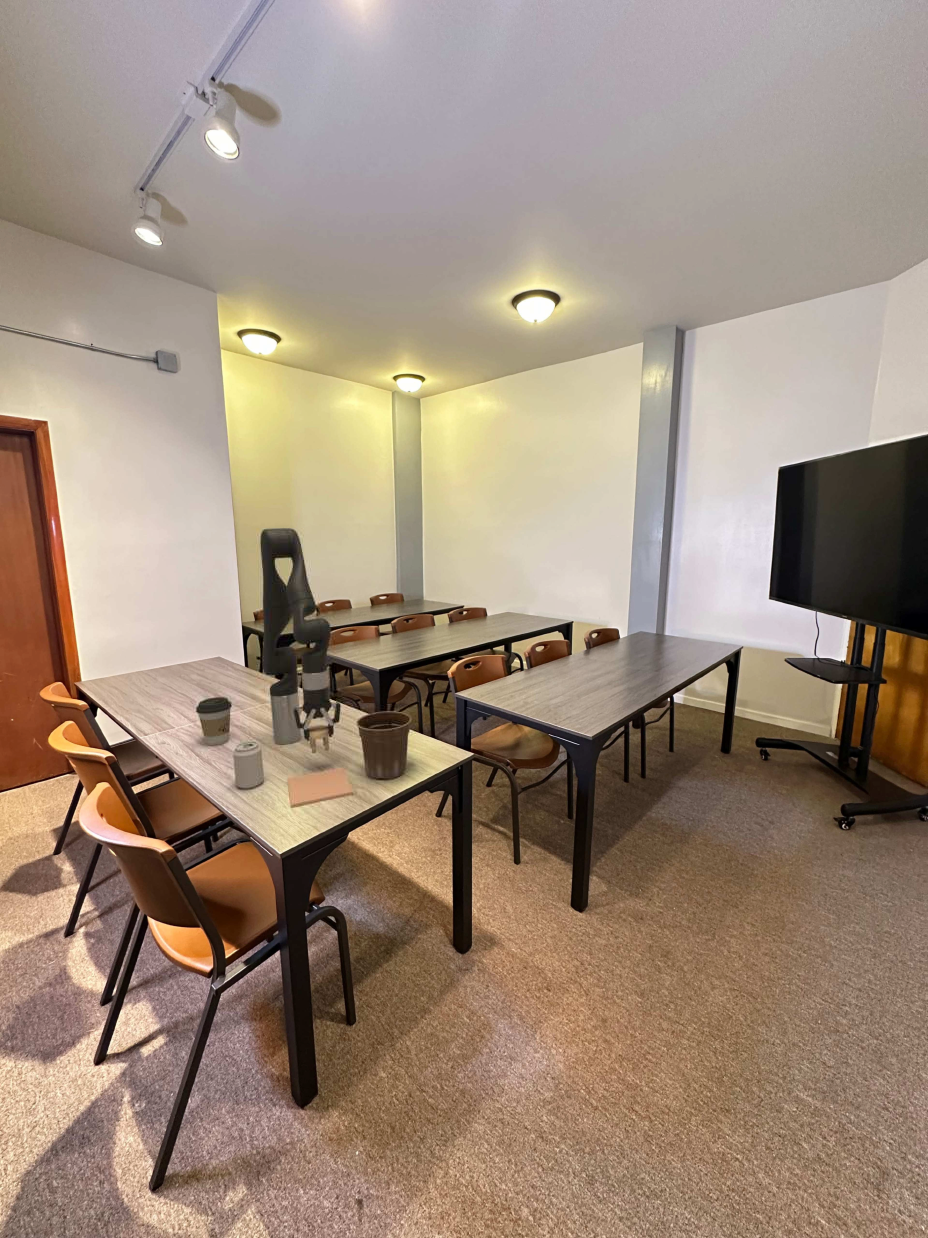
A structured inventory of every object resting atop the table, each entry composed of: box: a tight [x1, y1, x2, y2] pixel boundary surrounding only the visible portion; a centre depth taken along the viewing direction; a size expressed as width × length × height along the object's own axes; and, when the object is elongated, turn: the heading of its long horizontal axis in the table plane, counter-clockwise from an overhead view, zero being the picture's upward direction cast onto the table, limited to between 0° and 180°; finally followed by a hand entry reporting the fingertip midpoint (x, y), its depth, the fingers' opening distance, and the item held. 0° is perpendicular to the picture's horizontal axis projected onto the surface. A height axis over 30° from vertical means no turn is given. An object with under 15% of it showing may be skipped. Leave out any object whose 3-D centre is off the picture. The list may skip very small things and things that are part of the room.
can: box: [232, 740, 265, 790], centre depth 140 cm, size 8×8×12 cm
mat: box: [287, 767, 354, 808], centre depth 137 cm, size 16×16×1 cm
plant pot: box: [356, 710, 413, 780], centre depth 146 cm, size 16×16×16 cm
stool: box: [308, 724, 330, 754], centre depth 148 cm, size 6×6×6 cm
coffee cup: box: [195, 696, 233, 747], centre depth 171 cm, size 11×11×15 cm
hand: (319, 737), depth 148 cm, fingers closed on stool, 6 cm apart
